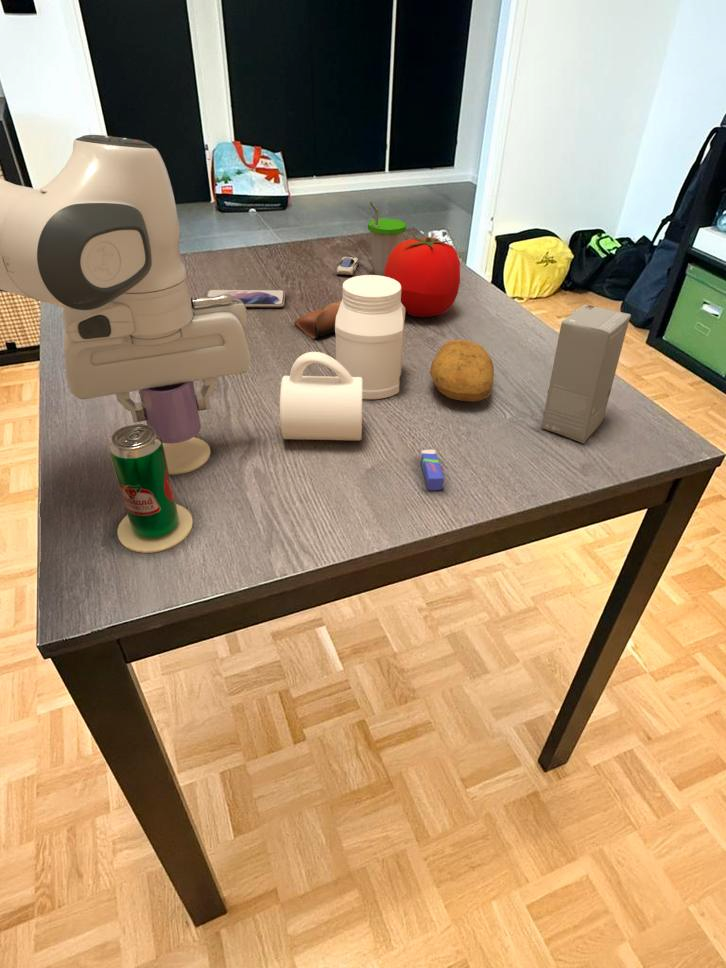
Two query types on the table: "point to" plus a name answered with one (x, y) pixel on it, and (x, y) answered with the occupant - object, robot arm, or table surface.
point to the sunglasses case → (319, 321)
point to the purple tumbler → (172, 411)
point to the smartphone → (254, 297)
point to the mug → (320, 402)
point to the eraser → (431, 470)
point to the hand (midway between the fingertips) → (171, 413)
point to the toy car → (347, 266)
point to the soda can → (144, 480)
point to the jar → (371, 333)
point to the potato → (463, 371)
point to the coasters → (178, 462)
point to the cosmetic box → (584, 371)
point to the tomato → (425, 275)
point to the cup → (384, 239)
